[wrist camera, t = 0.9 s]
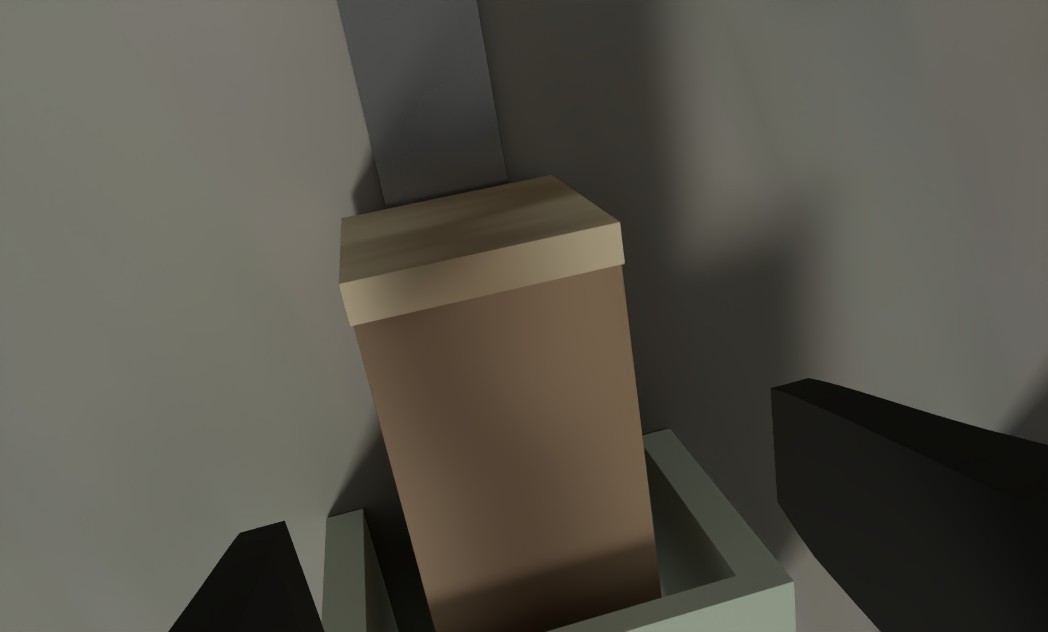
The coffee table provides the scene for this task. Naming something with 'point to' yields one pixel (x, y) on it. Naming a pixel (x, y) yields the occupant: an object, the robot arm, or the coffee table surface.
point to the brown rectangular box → (507, 402)
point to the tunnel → (682, 553)
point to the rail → (425, 96)
